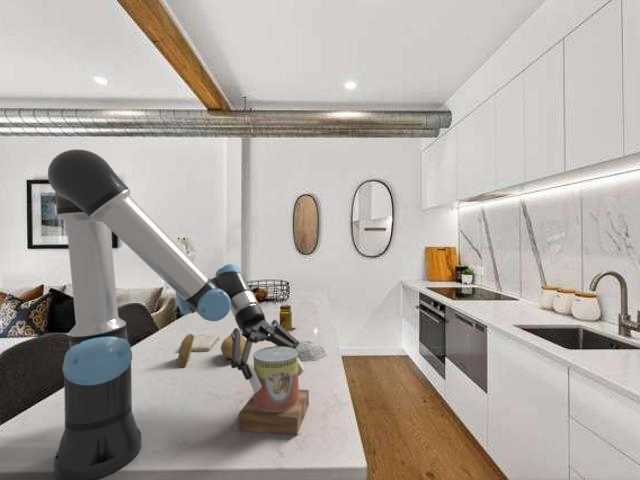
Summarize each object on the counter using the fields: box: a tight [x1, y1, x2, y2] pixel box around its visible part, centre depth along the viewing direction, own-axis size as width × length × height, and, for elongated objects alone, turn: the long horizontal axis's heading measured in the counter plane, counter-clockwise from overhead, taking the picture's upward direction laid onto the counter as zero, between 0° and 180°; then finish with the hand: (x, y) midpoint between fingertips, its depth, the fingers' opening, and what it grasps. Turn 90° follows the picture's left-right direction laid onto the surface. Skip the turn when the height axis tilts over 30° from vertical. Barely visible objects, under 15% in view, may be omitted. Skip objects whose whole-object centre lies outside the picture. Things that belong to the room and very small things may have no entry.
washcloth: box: [191, 334, 220, 353], centre depth 143 cm, size 12×18×3 cm, turn 4°
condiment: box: [279, 304, 297, 333], centre depth 166 cm, size 7×8×12 cm
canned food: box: [253, 345, 300, 412], centre depth 84 cm, size 11×11×12 cm
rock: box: [176, 333, 195, 368], centre depth 123 cm, size 11×9×10 cm
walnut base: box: [238, 389, 310, 436], centre depth 84 cm, size 14×14×4 cm
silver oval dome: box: [273, 339, 328, 363], centre depth 130 cm, size 16×25×7 cm, turn 93°
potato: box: [220, 334, 247, 360], centre depth 127 cm, size 10×14×8 cm
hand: (281, 381), depth 83 cm, fingers open, 13 cm apart
